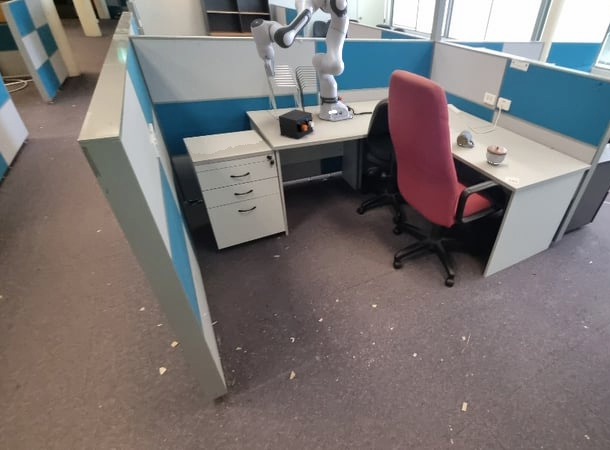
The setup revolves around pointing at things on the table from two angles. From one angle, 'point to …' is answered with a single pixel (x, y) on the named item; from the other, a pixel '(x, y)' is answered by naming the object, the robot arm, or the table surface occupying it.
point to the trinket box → (495, 154)
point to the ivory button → (311, 124)
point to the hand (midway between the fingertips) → (273, 75)
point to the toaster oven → (295, 123)
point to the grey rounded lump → (465, 139)
